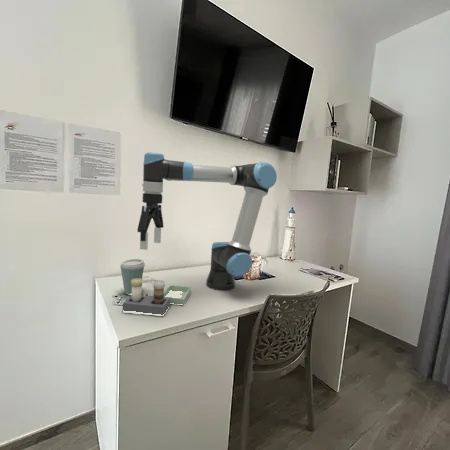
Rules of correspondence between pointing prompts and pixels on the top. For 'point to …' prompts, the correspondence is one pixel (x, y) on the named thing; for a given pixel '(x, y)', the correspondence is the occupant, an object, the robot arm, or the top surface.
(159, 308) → the grey rectangular block
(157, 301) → the cylinder
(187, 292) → the parts tray
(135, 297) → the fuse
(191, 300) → the top surface
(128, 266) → the disposable coffee cup
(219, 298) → the top surface
